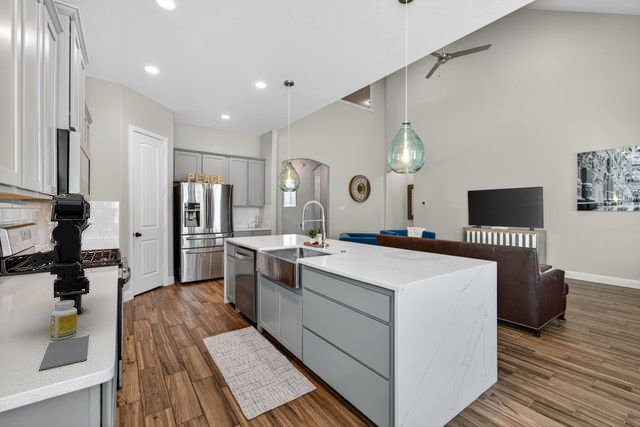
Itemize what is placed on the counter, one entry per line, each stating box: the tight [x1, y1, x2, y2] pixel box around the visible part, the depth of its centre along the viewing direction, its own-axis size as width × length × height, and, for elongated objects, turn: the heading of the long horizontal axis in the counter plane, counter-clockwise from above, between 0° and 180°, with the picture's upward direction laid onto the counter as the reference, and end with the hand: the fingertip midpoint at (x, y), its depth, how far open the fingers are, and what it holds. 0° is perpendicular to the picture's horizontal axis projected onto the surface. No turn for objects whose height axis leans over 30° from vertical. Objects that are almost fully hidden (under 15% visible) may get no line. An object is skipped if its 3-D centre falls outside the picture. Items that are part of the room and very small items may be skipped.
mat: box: [38, 335, 90, 372], centre depth 70 cm, size 16×8×1 cm, turn 38°
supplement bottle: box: [49, 300, 78, 341], centre depth 79 cm, size 5×5×10 cm
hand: (67, 292), depth 86 cm, fingers closed
